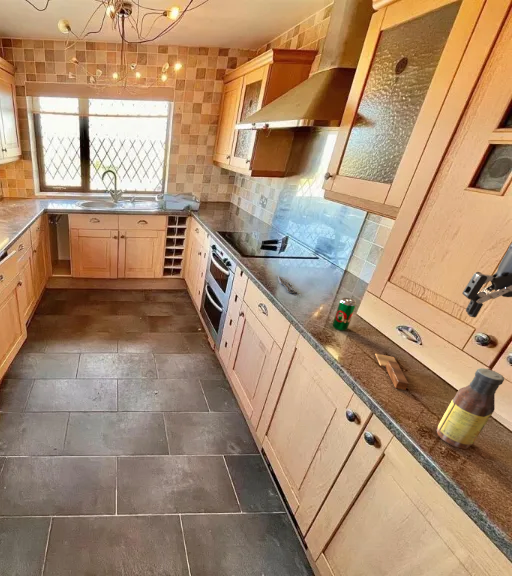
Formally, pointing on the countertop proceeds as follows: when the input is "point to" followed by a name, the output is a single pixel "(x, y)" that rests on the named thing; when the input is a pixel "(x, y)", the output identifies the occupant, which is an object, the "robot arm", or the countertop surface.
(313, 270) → the countertop surface
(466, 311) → the robot arm
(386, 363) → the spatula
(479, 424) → the sauce bottle
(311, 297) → the countertop surface
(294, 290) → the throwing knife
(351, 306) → the soda can
